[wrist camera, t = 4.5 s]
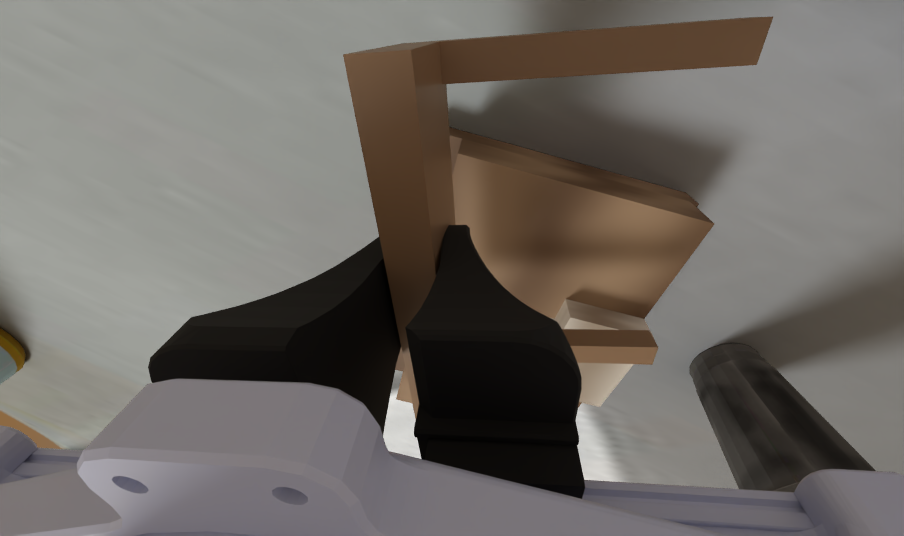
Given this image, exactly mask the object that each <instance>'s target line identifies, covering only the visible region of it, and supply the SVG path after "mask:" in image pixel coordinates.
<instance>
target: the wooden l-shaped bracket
mask: <svg viewBox="0 0 904 536" xmlns="http://www.w3.org/2000/svg"><path fill="white" fill-rule="evenodd" d="M772 19H773V17H749V18H735V19H722V20H709V21H696V22H682V23H669V24H656V25H642V26H629V27H616V28H602V29H589V30H576V31H562V32H549V33H536V34H522V35H509V36H496V37H482V38H469V39H456V40H442V41H429V42H416V43H403V44H397V45H392V46H386V47H381V48H376V49H370V50H365V51H360V52H354V53H349V54H344V55H343V56H344V61H345V66H346V71H347V76H348V81H349V86H350V92H351V97H352V102H353V107H354V112H355V117H356V122H357V127H358V132H359V137H360V142H361V147H362V152H363V157H364V162H365V167H366V172H367V177H368V182H369V187H370V192H371V197H372V202H373V207H374V212H375V217H376V222H377V227H378V232H379V237H380V242H381V247H382V252H383V257H384V262H385V267H386V272H387V277H388V282H389V287H390V292H391V297H392V303H393V308H394V313H395V318H396V323H397V328H398V333H399V338H400V343H401V348H402V353H403V358H404V363H405V368H406V373H407V378H408V383H409V388H410V393H411V398H412V403H413V408H414V413H415V418H416V417H417V412H418V406H419V400H418V395H417V389H416V384H415V378H414V373H413V367H412V362H411V356H410V351H409V345H408V340H407V334H406V329H405V327H406V326H407V325H408V324H409V323H410V322H411V320H412V319H413V318H414V316H415V315H416V314H417V312H418V311H419V310H420V308H421V306H422V305H423V303H424V301H425V299H426V298H427V296H428V294H429V292H430V289H431V287H432V285H433V283H434V280H435V278H436V275H437V272H438V270H439V266H440V261H441V252H442V242H443V237H444V234H445V231H446V229H447V227H448V226H449V225H456V224H455V209H454V194H453V179H452V163H451V148H450V133H449V118H448V103H447V88H446V84H453V83H469V82H486V81H502V80H518V79H534V78H551V77H567V76H583V75H599V74H616V73H632V72H648V71H664V70H681V69H697V68H713V67H729V66H745V65H757V62H758V59H759V56H760V53H761V51H762V48H763V45H764V42H765V39H766V36H767V33H768V30H769V28H770V25H771V22H772ZM562 330H563V332H564V334H565V336H566V338H567V340H568V342H569V344H570V346H571V348H572V351H573V353H574V355H575V358H576V360H577V363H611V364H653V361H654V358H655V355H656V352H657V350H658V346H657V344H656V342H655V340H654V338H653V336H652V335H651V333H650V331H649V330H594V329H562Z"/></svg>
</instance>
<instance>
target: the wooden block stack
mask: <svg viewBox="0 0 904 536" xmlns="http://www.w3.org/2000/svg"><path fill="white" fill-rule="evenodd" d="M449 133H450V148H451V163H452V179H453V194H454V209H455V224H456V225H467V226H468V227H469V228H470V236H471V239H472V242H473V244H474V246H475V248H476V250H477V252H478V254H479V256H480V257H481V259H482V261H483V262H484V264H485V265H486V267H487V268H488V269H489V271H490V272H491V273H492V275H493V276H494V277H495V278H496V279H497V280H498V282H499V283H500V284H501V285H502V286H503V287H504V288H505V289H506V290H507V291H509V292H510V293H511V294H512V295H513V296H515V297H516V298H517V299H518V300H520V301H521V302H523V303H524V304H526V305H527V306H529V307H530V308H532V309H534V310H536V311H538V312H539V313H541V314H543V315H545V316H547V317H549V318H551V319H553V320H555V321H557V322H558V323H559V325H560V327H561V329H594V330H649V328H648V326H647V324H646V322H645V320H644V318H645V317H646V316H647V314H648V313H649V311H650V310H651V309H652V307H653V306H654V305H655V303H656V302H657V301H658V299H659V298H660V297H661V295H662V294H663V293H664V291H665V290H666V289H667V287H668V286H669V285H670V283H671V282H672V280H673V279H674V278H675V276H676V275H677V274H678V272H679V271H680V270H681V268H682V267H683V266H684V264H685V263H686V262H687V260H688V259H689V258H690V256H691V255H692V254H693V252H694V251H695V249H696V248H697V247H698V245H699V244H700V243H701V241H702V240H703V239H704V237H705V236H706V235H707V233H708V232H709V231H710V229H711V228H712V227H713V225H714V223H713V222H712V221H711V220H710V219H709V218H708V217H706V216H705V215H704V214H703V213H702V212H701V211H700V210H699V209H698V208H696V207H697V206H698V205H699V204H698V203H697V202H696V201H695V200H694V199H692V198H691V197H690V196H689V195H688V194H687V193H685V192H681V191H678V190H674V189H670V188H667V187H663V186H660V185H656V184H652V183H649V182H645V181H642V180H638V179H634V178H631V177H627V176H624V175H620V174H616V173H613V172H609V171H606V170H602V169H598V168H595V167H591V166H587V165H584V164H580V163H577V162H573V161H569V160H566V159H562V158H559V157H555V156H551V155H548V154H544V153H541V152H537V151H533V150H530V149H526V148H523V147H519V146H515V145H512V144H508V143H505V142H501V141H497V140H494V139H490V138H487V137H483V136H479V135H476V134H472V133H469V132H465V131H461V130H458V129H454V128H450V127H449ZM649 331H650V330H649ZM650 333H651V332H650ZM651 335H652V333H651ZM652 336H653V335H652ZM653 338H654V337H653ZM578 366H579V369H580V373H581V377H582V390H581V395H580V400H579V405H578V407H579V406H580V404H581V403H586V404H590V405H594V406H598V407H600V406H601V405H602V403H603V402H604V401H605V400H606V398H607V397H608V396H609V395H610V393H611V392H612V391H613V389H614V388H615V387H616V386H617V384H618V383H619V382H620V381H621V379H622V378H623V377H624V376H625V374H626V373H627V372H628V371H629V369H630V368H631V367H632V366H633V364H611V363H578ZM395 370H399V371H403V374H402V378H401V382H400V386H399V390H398V394H397V398H396V399H397V400H401V401H406V402H410V403H412V398H411V393H410V388H409V383H408V378H407V373H406V368H405V363H404V358H403V353H402V348H401V350H400V353H399V356H398V360H397V363H396V368H395Z"/></svg>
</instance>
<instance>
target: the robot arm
mask: <svg viewBox="0 0 904 536" xmlns="http://www.w3.org/2000/svg"><path fill="white" fill-rule="evenodd" d="M405 329H406V334H407V340H408V345H409V351H410V356H411V362H412V367H413V373H414V378H415V384H416V389H417V395H418V400H419V406H418V412H417V417H416V422H415V427H414V435H415V437H417V439H418V444H419V448H420V453H421V458H422V459H418V458H414V457H410V456H406V455H402V454H398V453H394V452H389V451H388V449H387V448H386V445H385V442H384V438H383V432H384V426H385V420H386V414H387V409H388V403H389V398H390V393H391V388H392V383H393V378H394V373H395V368H396V363H397V360H398V356H399V353H400V350H401V343H400V338H399V333H398V328H397V323H396V318H395V313H394V308H393V303H392V297H391V292H390V287H389V282H388V277H387V272H386V267H385V262H384V257H383V252H382V247H381V242H380V237H378V238H377V239H375V240H374V241H373V242H371V243H370V244H368V245H367V246H366V247H364V248H363V249H361V250H360V251H358V252H357V253H355V254H354V255H352V256H351V257H349V258H348V259H346V260H345V261H343V262H341V263H340V264H338V265H337V266H335V267H333V268H331V269H330V270H328V271H326V272H324V273H322V274H320V275H318V276H316V277H314V278H312V279H310V280H308V281H306V282H303V283H301V284H298V285H296V286H294V287H291V288H289V289H287V290H284V291H282V292H279V293H277V294H274V295H271V296H268V297H265V298H262V299H259V300H256V301H253V302H250V303H246V304H243V305H240V306H236V307H232V308H228V309H224V310H220V311H216V312H212V313H208V314H204V315H200V316H195V317H191V318H190V319H189V320H188V321H187V322H186V323H185V324H184V325H183V326H182V327H181V328H180V329H179V330H178V331H177V332H176V333H175V334H174V335H173V336H172V337H171V338H170V339H169V340H168V341H167V342H166V343H165V344H164V345H163V346H162V347H161V348H160V349H159V350H158V351H157V352H156V353H155V354H154V355H153V356H152V357H151V358H150V362H149V366H148V368H149V373H150V377H151V381H152V383H150V384H147V385H146V386H145V387H144V388H143V389H142V390H141V391H140V392H139V393H138V394H137V395H136V396H135V397H134V398H133V399H132V400H131V402H130V403H129V404H128V405H127V406H126V407H125V408H124V409H123V410H122V411H121V412H120V413H119V414H118V415H117V416H116V417H115V418H114V419H113V420H112V421H111V422H110V423H109V424H108V425H107V426H106V427H105V428H104V430H103V431H102V432H101V433H100V434H99V435H98V436H97V437H96V438H95V439H94V440H93V441H92V442H91V443H90V444H89V445H88V446H87V447H86V448H85V449H84V450H66V449H49V448H37V445H36V444H35V443H34V442H33V441H32V440H31V439H30V438H29V437H28V436H27V435H25V434H24V433H22V432H20V431H19V430H16V429H14V428H11V427H6V426H0V536H904V476H903V475H902V474H899V473H895V472H884V471H864V470H845V469H825V470H819V471H816V472H812V473H810V474H809V475H807V476H805V477H804V478H803V479H802V480H801V481H800V483H799V484H798V486H797V488H796V490H795V492H779V491H762V490H745V489H728V488H711V487H694V486H677V485H660V484H643V483H626V482H609V481H592V480H584V477H583V473H582V468H581V463H580V458H579V453H578V448H577V445H578V443H579V436H578V431H577V426H576V422H575V420H576V415H577V410H578V405H579V400H580V395H581V390H582V377H581V373H580V369H579V366H578V363H577V360H576V358H575V355H574V353H573V351H572V348H571V346H570V344H569V342H568V340H567V338H566V336H565V334H564V332H563V330H562V329H561V327H560V325H559V323H558V322H557V321H555V320H553V319H551V318H549V317H547V316H545V315H543V314H541V313H539V312H538V311H536V310H534V309H532V308H530V307H529V306H527V305H526V304H524V303H523V302H521V301H520V300H518V299H517V298H516V297H515V296H513V295H512V294H511V293H510V292H509V291H507V290H506V289H505V288H504V287H503V286H502V285H501V284H500V283H499V282H498V280H497V279H496V278H495V277H494V276H493V275H492V273H491V272H490V271H489V269H488V268H487V267H486V265H485V264H484V262H483V261H482V259H481V257H480V256H479V254H478V252H477V250H476V248H475V246H474V244H473V242H472V239H471V236H470V228H469V227H468V226H467V225H449V226H448V227H447V229H446V231H445V234H444V237H443V242H442V252H441V261H440V266H439V270H438V272H437V275H436V278H435V280H434V283H433V285H432V287H431V289H430V292H429V294H428V296H427V298H426V299H425V301H424V303H423V305H422V306H421V308H420V310H419V311H418V312H417V314H416V315H415V316H414V318H413V319H412V320H411V322H410V323H409V324H408V325H407V326H406V327H405Z"/></svg>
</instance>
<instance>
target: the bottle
mask: <svg viewBox="0 0 904 536" xmlns="http://www.w3.org/2000/svg"><path fill="white" fill-rule="evenodd" d="M25 356H26V355H25V352H24V349H23V348H22V346H21V345H20V343H19V342H18V341H17V340H15V339H14V338H13V337H12V336H11V335H10V334H8V333H7V332H5V331H4V330H2V329H1V328H0V384H1V383H3V382H4V381H5V380H7V379H8V378H10V377H11V376H12V375H14V374H15V373H16V372H17V371H19V370H20V369H21V368H22V367H23V365H24V361H25Z"/></svg>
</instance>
